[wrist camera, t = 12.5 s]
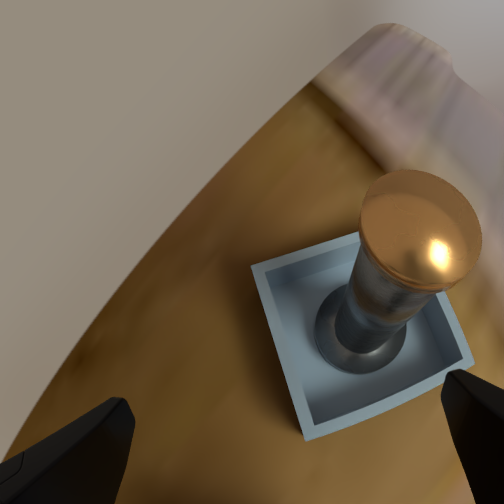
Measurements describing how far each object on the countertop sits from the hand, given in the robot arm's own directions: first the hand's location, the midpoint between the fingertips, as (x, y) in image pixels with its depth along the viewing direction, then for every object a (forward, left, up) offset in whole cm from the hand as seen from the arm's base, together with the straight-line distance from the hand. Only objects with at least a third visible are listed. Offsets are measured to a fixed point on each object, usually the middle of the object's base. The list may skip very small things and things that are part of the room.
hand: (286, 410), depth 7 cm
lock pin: (+4, -6, -12) cm, 14 cm away
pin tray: (+4, -6, -13) cm, 14 cm away
